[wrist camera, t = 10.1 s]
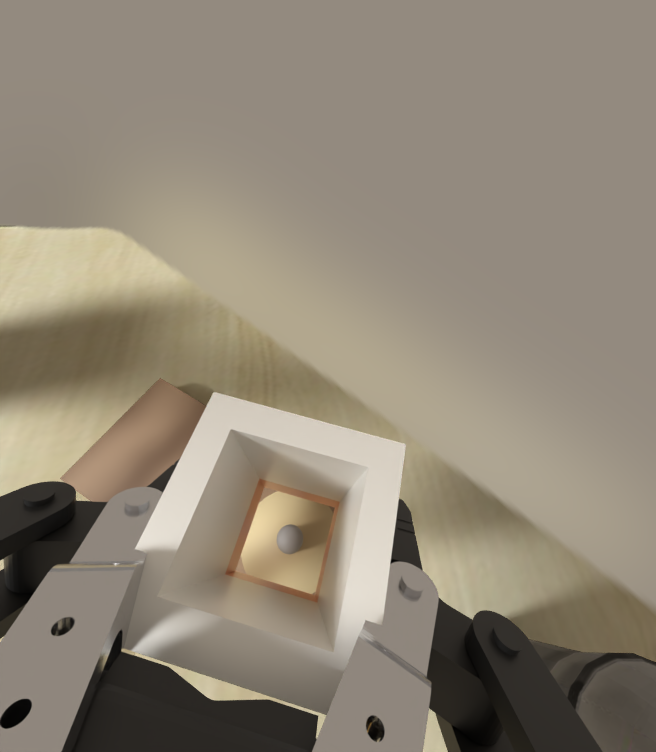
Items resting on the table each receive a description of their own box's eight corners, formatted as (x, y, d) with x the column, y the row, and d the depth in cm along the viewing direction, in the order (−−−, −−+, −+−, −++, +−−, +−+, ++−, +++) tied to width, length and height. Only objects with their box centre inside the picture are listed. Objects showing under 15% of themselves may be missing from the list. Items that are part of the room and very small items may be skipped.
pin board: (76, 483, 25) (6, 463, 19) (168, 388, 29) (135, 347, 23) (314, 656, 21) (320, 700, 15) (376, 514, 25) (400, 504, 19)
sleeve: (329, 625, 12) (368, 728, 5) (208, 587, 12) (90, 637, 5) (355, 494, 15) (405, 444, 8) (254, 465, 15) (213, 391, 8)
